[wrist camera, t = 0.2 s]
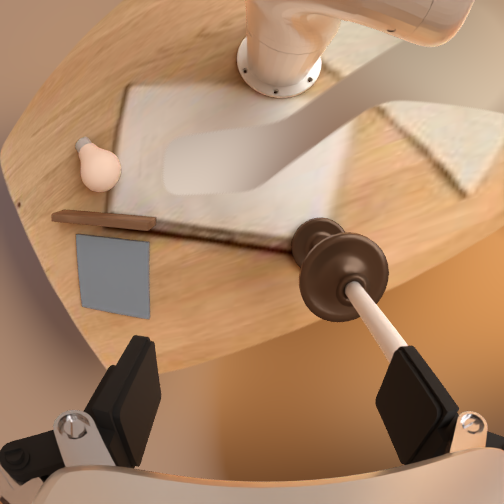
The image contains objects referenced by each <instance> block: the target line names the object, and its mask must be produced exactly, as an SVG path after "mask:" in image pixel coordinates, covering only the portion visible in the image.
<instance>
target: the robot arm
mask: <svg viewBox="0 0 504 504" xmlns="http://www.w3.org/2000/svg"><path fill="white" fill-rule="evenodd" d="M473 2H474V0H245V3H246V24H247V36H246V37H245V38H244V39H243V41H242V42H241V44H240V46H239V48H238V52H237V66H238V69H239V73H240V74H241V76H242V78H243V80H244V81H245V82H246V83H247V84H248V85H249V86H250V87H251V88H252V89H254V90H255V91H257V92H259V93H261V94H263V95H266V96H270V97H275V98H287V97H293V96H296V95H299V94H301V93H303V92H305V91H306V90H308V89H309V88H310V87H311V86H312V85H313V84H314V83H315V81H316V80H317V78H318V76H319V74H320V71H321V63H322V62H321V55H322V53H323V52H324V51H325V49H326V48H327V47H328V45H329V44H330V42H331V41H332V40H333V38H334V37H335V35H336V34H337V32H338V30H339V27H340V24H341V20H344V21H351V22H354V23H357V24H361V25H364V26H367V27H370V28H373V29H376V30H379V31H382V32H384V33H387V34H390V35H392V36H395V37H398V38H400V39H403V40H406V41H408V42H411V43H414V44H417V45H420V46H426V47H434V46H440V45H442V44H445V43H446V42H448V41H449V40H451V39H452V38H453V37H454V36H455V35H456V34H457V32H458V31H459V30H460V28H461V26H462V25H463V23H464V22H465V19H466V18H467V16H468V14H469V12H470V9H471V7H472V5H473ZM244 71H247V73H244ZM307 80H310V82H308V81H307ZM274 91H276V92H277V93H276V94H274ZM160 400H161V390H160V383H159V376H158V368H157V360H156V352H155V344H154V342H152V341H150V339H149V337H144V336H137V335H134V336H133V337H132V339H131V341H130V342H129V344H128V346H127V347H126V349H125V351H124V353H123V354H122V356H121V358H120V359H119V361H118V363H117V365H116V366H115V365H111V366H110V367H109V368H108V370H107V372H106V373H105V375H104V377H103V378H102V380H101V382H100V383H99V385H98V387H97V389H96V390H95V392H94V394H93V396H92V397H91V399H90V401H89V403H88V404H87V406H86V408H85V410H84V411H80V410H69V411H66V412H63V413H62V414H60V415H59V416H58V417H57V418H56V419H55V421H54V425H53V428H54V430H51V431H48V432H45V433H41V434H38V435H34V436H31V437H27V438H23V439H19V440H16V441H12V442H10V443H7V444H6V445H4V446H3V447H2V449H1V450H0V504H504V437H502V436H499V435H496V434H494V433H491V432H488V431H487V423H486V421H485V419H484V418H483V417H482V416H481V415H479V414H478V413H475V412H470V411H467V412H463V413H461V414H460V415H458V413H457V411H458V410H459V407H458V406H457V405H456V403H455V402H454V400H453V399H452V398H451V396H450V395H449V393H448V392H447V391H446V389H445V388H444V386H443V385H442V383H441V382H440V381H439V379H438V378H437V377H436V375H435V374H434V373H433V372H432V370H431V369H430V367H429V366H428V364H427V363H426V362H425V361H424V359H423V358H422V357H421V355H420V354H419V353H418V351H417V350H416V349H415V347H413V346H401V347H399V348H398V349H397V350H396V351H395V352H394V354H393V356H392V359H391V362H390V365H389V367H388V370H387V372H386V375H385V377H384V380H383V383H382V385H381V387H380V390H379V392H378V394H377V397H376V407H377V409H378V411H379V413H380V415H381V418H382V420H383V422H384V425H385V427H386V429H387V431H388V434H389V436H390V438H391V441H392V443H393V445H394V448H395V450H396V452H397V455H398V457H399V460H400V462H401V463H402V464H404V466H400V467H395V468H391V469H386V470H381V471H376V472H370V473H365V474H358V475H352V476H345V477H337V478H328V479H318V480H305V481H284V482H246V481H225V480H212V479H202V478H193V477H184V476H177V475H170V474H163V473H157V472H152V471H145V470H139V469H134V467H135V466H138V467H139V466H140V464H141V460H142V457H143V454H144V451H145V447H146V444H147V441H148V438H149V435H150V431H151V428H152V425H153V422H154V419H155V416H156V413H157V409H158V406H159V403H160Z"/></svg>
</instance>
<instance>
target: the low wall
mask: <svg viewBox="0 0 504 504" xmlns="http://www.w3.org/2000/svg"><path fill="white" fill-rule="evenodd" d="M52 221H55V222H65V223H76V224H86V225H96V226H106V227H116V228H125V229H135V230H145V231H148V230H150V229H151V228H152V227H154V226H155V225H156V217H146V216H135V215H123V214H112V213H100V212H88V211H75V210H62V211H59V212H56V213H53V214H52Z"/></svg>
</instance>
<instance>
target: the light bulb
mask: <svg viewBox="0 0 504 504" xmlns="http://www.w3.org/2000/svg"><path fill="white" fill-rule="evenodd" d="M75 148H76V150H77V152H78V153H79V158H80V161H81V178H82V181H83V183H84V184H85V185H86V186H87V187H88V188H89V189H90V190H91V191H95V192H104V191H108V190H109V189H111V188H112V187H114V186H115V184H116V183H117V181H118V180H119V178H120V175H121V164H120V162H119V160H118V158H117V156H116V155H115V154H113V153H112V152H110V151H107V150H104V149H101V148H98V147H97V146H96V145H95V144H93V143H92V142H91V141H90V140H89V138H88V137H83V138H80V139H79V140H78V141H77V142H76V145H75Z"/></svg>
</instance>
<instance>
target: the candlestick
mask: <svg viewBox="0 0 504 504" xmlns="http://www.w3.org/2000/svg"><path fill="white" fill-rule="evenodd" d="M292 254H293V257H294V259H295V261H296V263H297V264H298V265H299V267H300V268H301V269H300V274H299V288H300V292H301V295H302V298H303V300H304V302H305V304H306V306H307V307H308V308H309V310H310V311H311V312H312V313H314V314H315V315H316V316H318V317H320V318H322V319H324V320H327V321H331V322H345V321H350V320H354V319H357V318H358V317H361V318H362V320H363V321H364V323H365V324H366V326H367V328H368V329H369V331H370V332H371V334H372V335H373V337H374V339H375V340H376V342H377V343H378V345H379V347H380V348H381V350H382V351H383V353H384V355H385V356H386V358H387V359H388V361H389V363H390V362H391V359H392V356H393V354H394V352H395V351H396V350H397V349H398V348H399V347H401V346H408V345H407V344H406V342H405V341H404V340H403V338H402V337H401V336H400V334H399V333H398V332H397V331H396V329H395V328H394V327H393V326H392V324H391V323H390V321H389V320H388V319H387V318H386V316H385V315H384V314H383V313H382V311H381V310H380V309H379V308H378V306H377V305H376V304H377V303H378V301H379V300H380V299H381V297H382V295H383V293H384V291H385V289H386V286H387V282H388V275H389V270H388V263H387V260H386V257H385V255H384V253H383V251H382V250H381V249H380V247H379V246H378V245H377V244H376V243H374V242H373V241H372V240H370V239H369V238H367V237H365V236H363V235H360V234H357V233H351V232H348V233H345V231H344V230H343V228H342V227H341V226H340V225H339V224H337V223H336V222H334V221H333V220H330V219H328V218H314V219H311V220H309V221H306V222H305V223H304V224H302V225H301V226H300V227H299V228H298V229H297V231H296V233H295V234H294V237H293V239H292Z"/></svg>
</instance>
